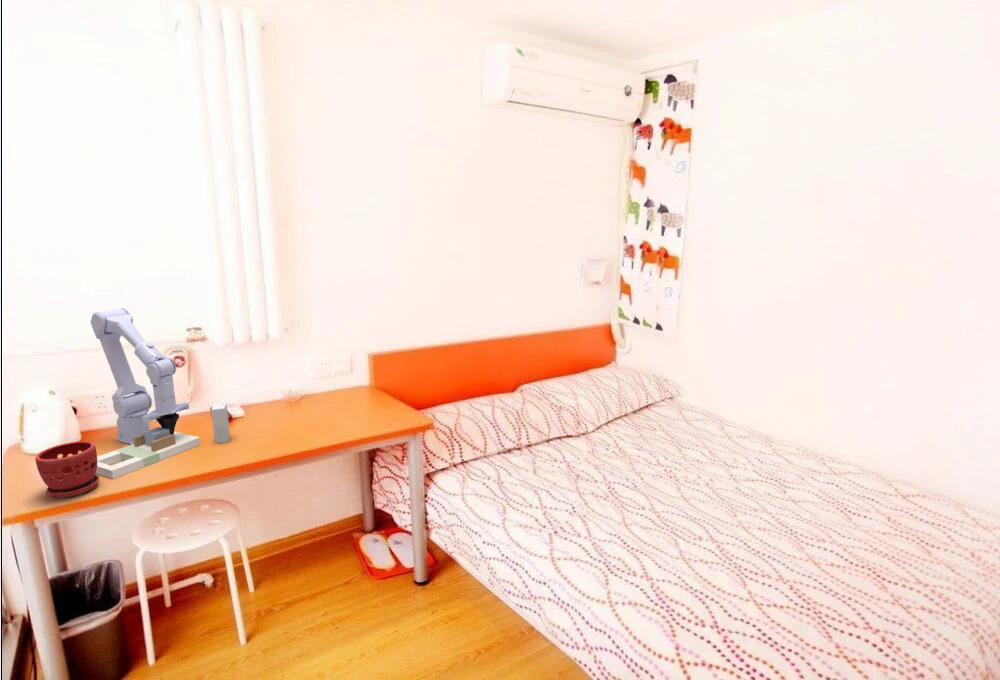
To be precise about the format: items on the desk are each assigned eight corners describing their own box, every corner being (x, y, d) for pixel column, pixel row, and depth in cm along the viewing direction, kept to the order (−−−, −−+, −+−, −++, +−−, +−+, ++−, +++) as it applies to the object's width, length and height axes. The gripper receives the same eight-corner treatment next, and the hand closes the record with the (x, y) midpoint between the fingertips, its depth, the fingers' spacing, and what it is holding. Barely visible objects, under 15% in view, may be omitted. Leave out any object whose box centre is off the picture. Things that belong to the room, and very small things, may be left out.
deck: (83, 469, 168) (81, 452, 167) (172, 437, 193) (170, 422, 192) (113, 478, 163) (110, 460, 161) (200, 444, 187) (198, 428, 186)
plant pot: (90, 475, 165) (83, 436, 162) (109, 487, 157) (103, 447, 155) (34, 492, 154) (27, 451, 152) (53, 506, 147) (45, 463, 144)
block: (145, 445, 180) (143, 432, 179) (160, 439, 185) (158, 426, 184) (156, 448, 178) (154, 434, 177) (170, 442, 183) (169, 429, 182)
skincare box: (216, 437, 193) (212, 404, 191) (230, 435, 195) (226, 402, 192) (214, 444, 188) (210, 409, 185) (228, 442, 189) (225, 408, 187)
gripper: (150, 404, 174) (156, 446, 177) (193, 391, 187) (198, 430, 190) (136, 401, 177) (141, 442, 180) (179, 389, 190) (183, 427, 192)
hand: (169, 436), depth 185 cm, fingers closed
